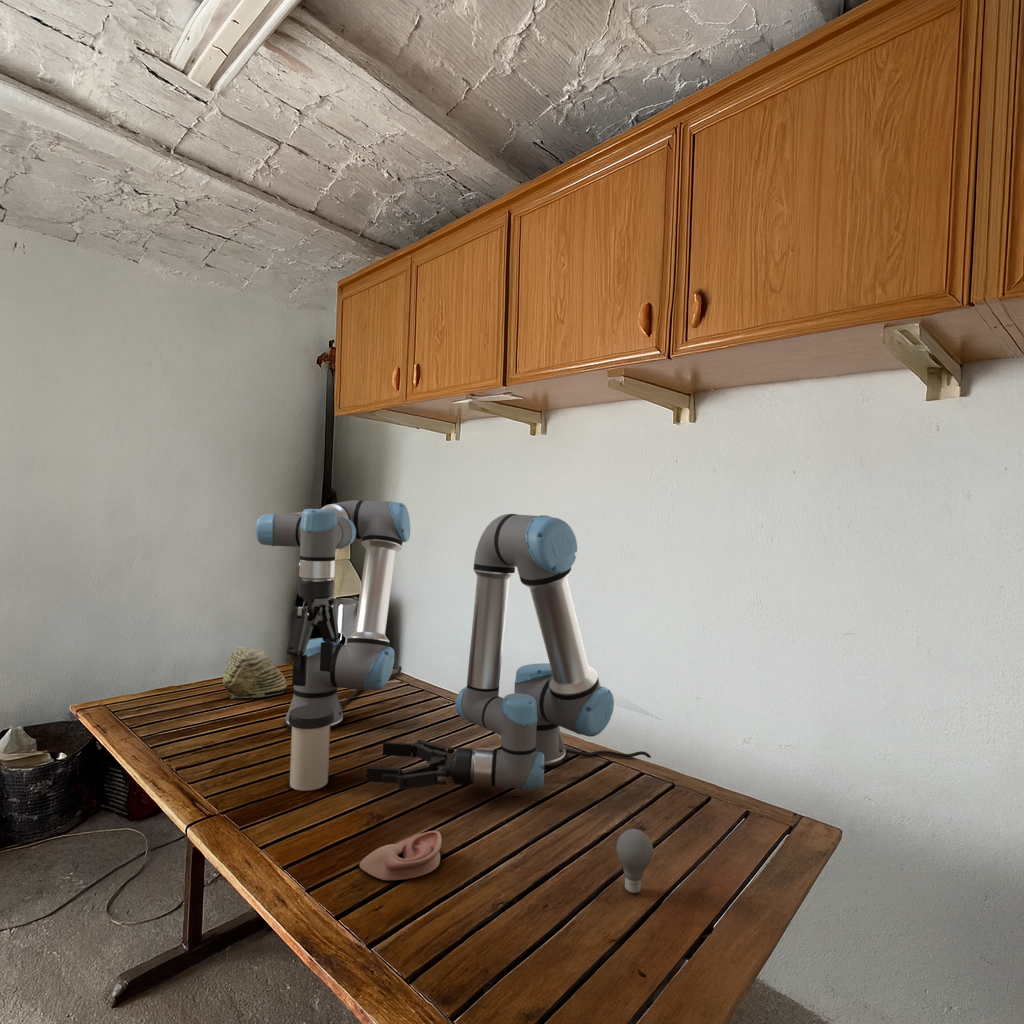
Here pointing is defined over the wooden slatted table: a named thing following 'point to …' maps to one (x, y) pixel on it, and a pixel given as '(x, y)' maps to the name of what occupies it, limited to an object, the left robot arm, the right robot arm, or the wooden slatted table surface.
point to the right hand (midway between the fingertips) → (375, 760)
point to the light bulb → (634, 857)
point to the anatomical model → (405, 858)
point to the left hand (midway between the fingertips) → (313, 677)
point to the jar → (309, 758)
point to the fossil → (252, 674)
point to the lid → (311, 716)
